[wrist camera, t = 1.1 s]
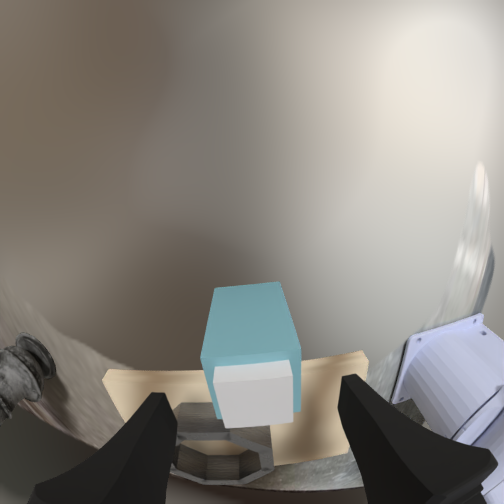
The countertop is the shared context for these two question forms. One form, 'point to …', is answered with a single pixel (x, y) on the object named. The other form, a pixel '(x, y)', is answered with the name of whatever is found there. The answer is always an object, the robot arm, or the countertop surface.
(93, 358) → the countertop surface
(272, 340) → the connector
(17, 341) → the salt shaker
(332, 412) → the holder dock
